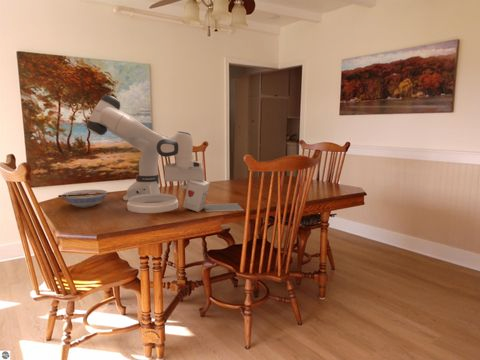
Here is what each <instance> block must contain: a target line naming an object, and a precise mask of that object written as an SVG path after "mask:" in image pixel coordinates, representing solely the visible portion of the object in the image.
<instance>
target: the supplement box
mask: <svg viewBox="0 0 480 360" xmlns="http://www.w3.org/2000/svg"><path fill="white" fill-rule="evenodd" d="M210 185H211V182H209V181H206V180H203V181H195V180H189V184H188V188H187V190H186V193H185V197H184V201H183V205H182V206H183V208H185V209H189V210H190V211H191V210H192V211H193V212H194V211H195V212H197V213H199V212H200V211H202V210H203V209H204V205H206V204H205V203H206V199H207V197H208V192H209V188H210Z"/></svg>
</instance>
